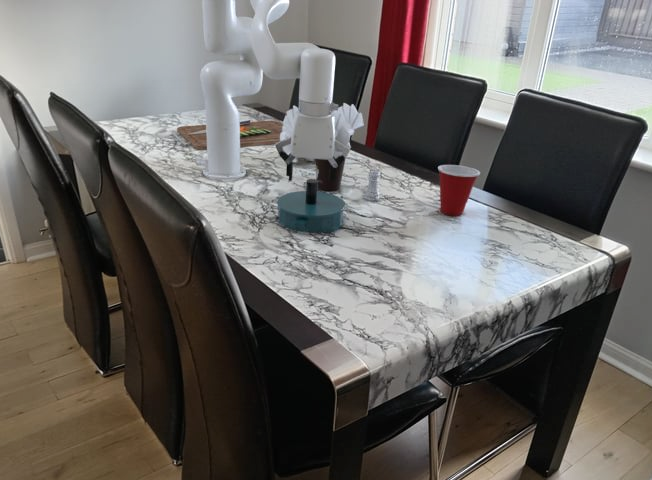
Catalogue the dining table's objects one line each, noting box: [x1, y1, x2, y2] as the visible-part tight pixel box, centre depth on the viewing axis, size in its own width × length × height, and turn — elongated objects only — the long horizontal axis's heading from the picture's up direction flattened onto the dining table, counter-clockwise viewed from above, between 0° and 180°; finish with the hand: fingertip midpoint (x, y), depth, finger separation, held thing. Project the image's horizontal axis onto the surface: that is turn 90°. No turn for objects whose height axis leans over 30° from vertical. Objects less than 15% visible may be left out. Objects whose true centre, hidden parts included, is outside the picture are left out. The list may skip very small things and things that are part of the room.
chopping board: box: [171, 119, 283, 151], centre depth 208 cm, size 45×27×3 cm, turn 117°
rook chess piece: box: [363, 168, 381, 202], centre depth 158 cm, size 4×4×8 cm
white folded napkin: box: [280, 102, 365, 163], centre depth 185 cm, size 18×18×25 cm
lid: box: [276, 178, 346, 218], centre depth 140 cm, size 17×17×7 cm
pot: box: [277, 208, 344, 234], centre depth 142 cm, size 16×21×4 cm
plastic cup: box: [437, 164, 481, 217], centre depth 151 cm, size 11×11×12 cm
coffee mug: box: [314, 151, 346, 193], centre depth 163 cm, size 12×9×10 cm
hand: (310, 180), depth 138 cm, fingers open, 9 cm apart
